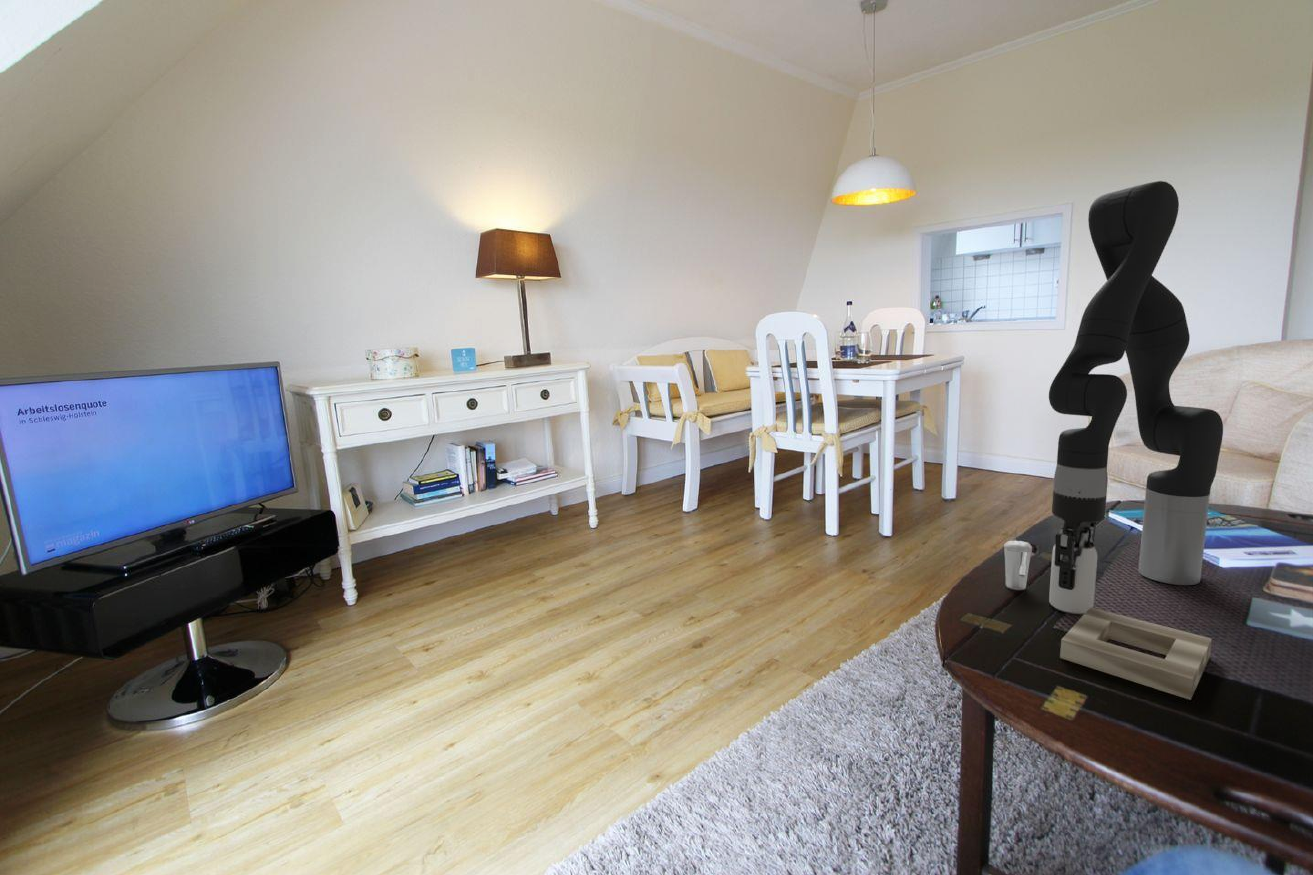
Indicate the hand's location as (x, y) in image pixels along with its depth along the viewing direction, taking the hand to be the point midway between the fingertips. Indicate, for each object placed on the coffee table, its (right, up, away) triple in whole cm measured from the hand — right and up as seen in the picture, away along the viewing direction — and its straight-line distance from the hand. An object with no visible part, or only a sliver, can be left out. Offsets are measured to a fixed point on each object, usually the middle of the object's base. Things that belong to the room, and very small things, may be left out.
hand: (1072, 581), depth 106 cm
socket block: (-2, -8, -16) cm, 18 cm away
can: (0, -5, +1) cm, 5 cm away
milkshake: (-4, -3, +10) cm, 11 cm away
